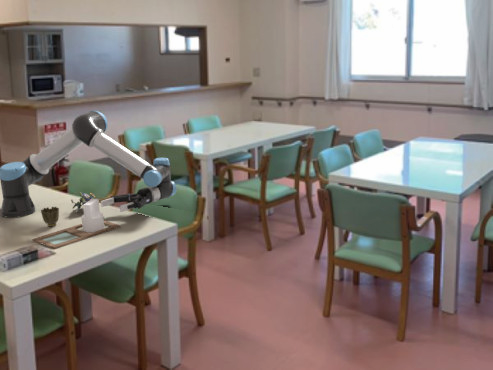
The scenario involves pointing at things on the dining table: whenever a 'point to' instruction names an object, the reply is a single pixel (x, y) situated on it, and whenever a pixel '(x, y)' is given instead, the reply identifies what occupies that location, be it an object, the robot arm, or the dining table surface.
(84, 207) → the base with upright slab
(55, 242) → the frame with rectangular openings
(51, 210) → the cup
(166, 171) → the robot arm
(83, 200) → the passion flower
